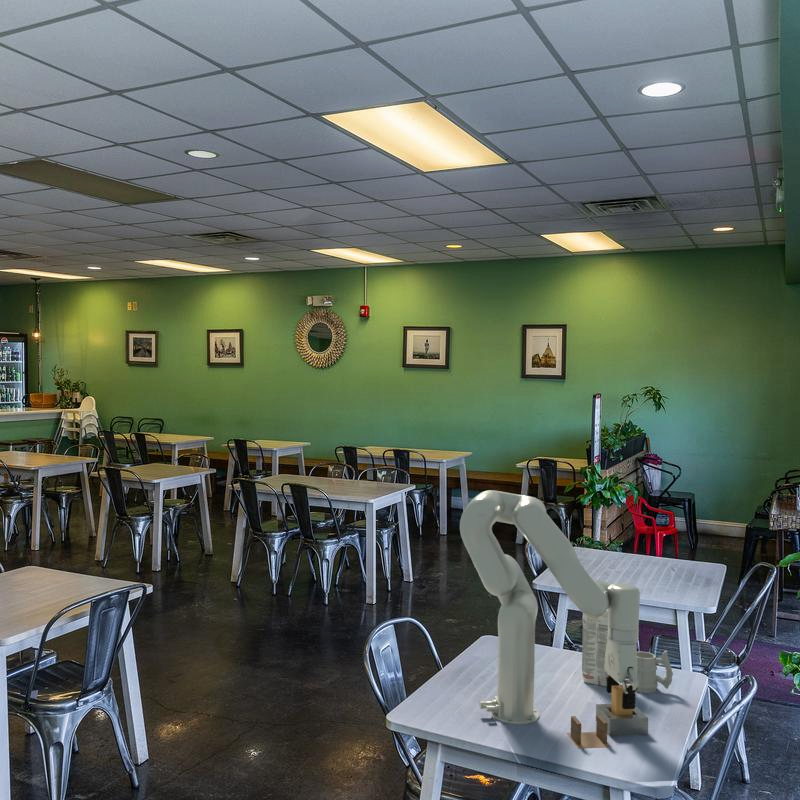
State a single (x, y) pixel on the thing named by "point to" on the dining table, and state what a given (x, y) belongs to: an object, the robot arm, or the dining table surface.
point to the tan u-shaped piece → (589, 734)
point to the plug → (618, 701)
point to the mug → (652, 672)
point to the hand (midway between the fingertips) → (620, 700)
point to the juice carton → (594, 649)
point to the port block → (623, 721)
